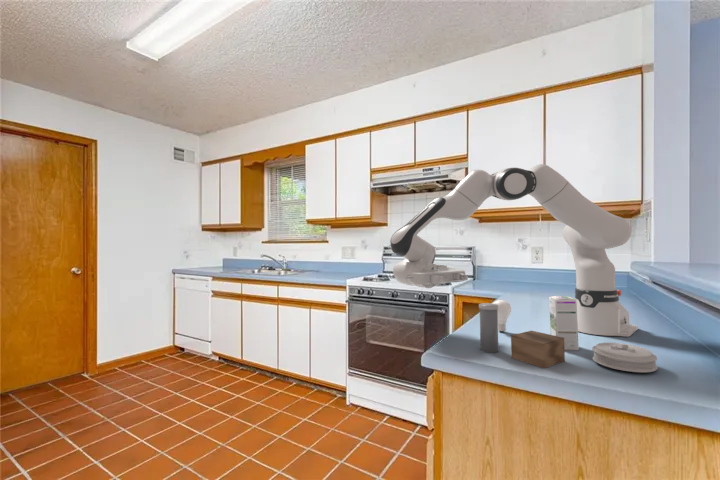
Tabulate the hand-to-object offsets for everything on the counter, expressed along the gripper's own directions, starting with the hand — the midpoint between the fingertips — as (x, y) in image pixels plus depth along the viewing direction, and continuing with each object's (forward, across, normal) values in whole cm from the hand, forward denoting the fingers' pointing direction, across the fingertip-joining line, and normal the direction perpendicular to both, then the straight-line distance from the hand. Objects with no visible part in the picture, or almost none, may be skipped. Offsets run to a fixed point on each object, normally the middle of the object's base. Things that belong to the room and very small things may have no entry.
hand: (455, 278), depth 109 cm
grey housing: (+12, 0, +20) cm, 23 cm away
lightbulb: (+1, +20, +20) cm, 28 cm away
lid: (+38, +18, +20) cm, 46 cm away
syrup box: (+22, +20, +20) cm, 36 cm away
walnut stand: (+24, +4, +19) cm, 31 cm away
